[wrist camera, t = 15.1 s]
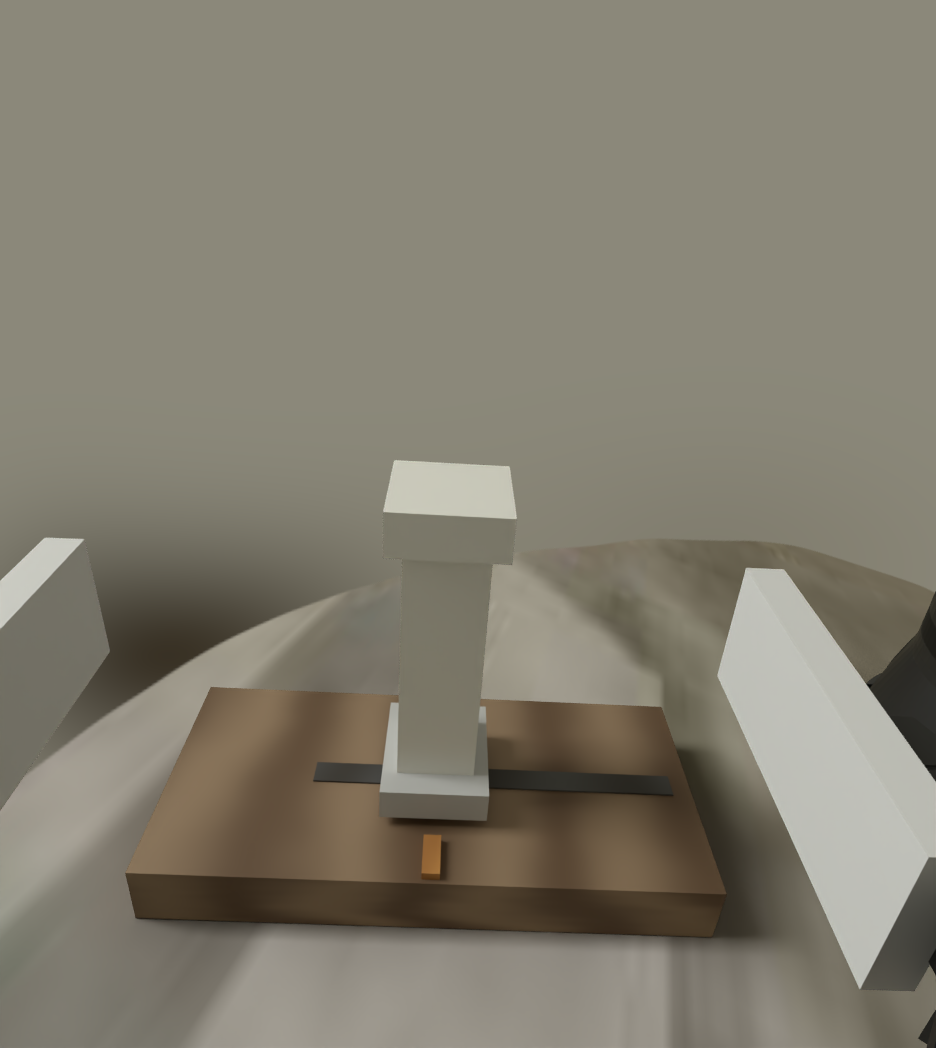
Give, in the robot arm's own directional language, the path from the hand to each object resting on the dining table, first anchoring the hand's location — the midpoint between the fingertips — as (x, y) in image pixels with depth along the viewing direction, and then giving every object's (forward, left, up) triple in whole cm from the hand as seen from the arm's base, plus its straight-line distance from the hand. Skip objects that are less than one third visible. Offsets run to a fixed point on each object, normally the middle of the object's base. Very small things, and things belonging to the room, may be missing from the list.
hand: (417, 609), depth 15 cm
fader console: (-1, -15, -23) cm, 27 cm away
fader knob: (-1, -15, -20) cm, 24 cm away
